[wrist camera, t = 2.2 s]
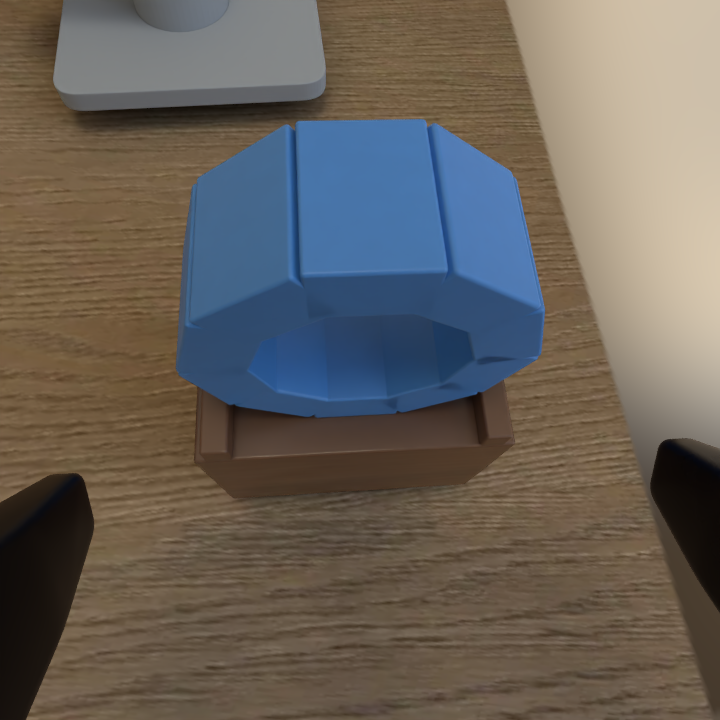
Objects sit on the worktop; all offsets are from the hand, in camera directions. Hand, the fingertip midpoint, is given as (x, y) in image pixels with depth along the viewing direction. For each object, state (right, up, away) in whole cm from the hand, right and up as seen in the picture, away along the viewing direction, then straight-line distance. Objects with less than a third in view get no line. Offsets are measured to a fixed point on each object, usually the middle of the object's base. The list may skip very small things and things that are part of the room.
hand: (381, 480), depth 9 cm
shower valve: (-10, +19, +20) cm, 30 cm away
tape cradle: (-1, -1, +12) cm, 12 cm away
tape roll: (-1, +2, +7) cm, 7 cm away
